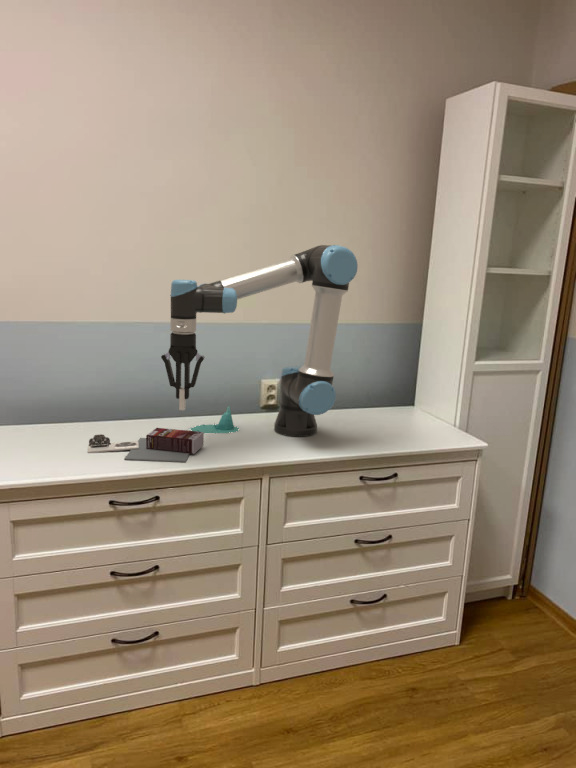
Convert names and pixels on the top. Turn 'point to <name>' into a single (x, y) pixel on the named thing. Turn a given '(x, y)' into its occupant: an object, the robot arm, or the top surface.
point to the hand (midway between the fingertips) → (182, 408)
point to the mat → (155, 454)
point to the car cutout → (109, 445)
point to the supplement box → (175, 440)
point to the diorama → (219, 425)
